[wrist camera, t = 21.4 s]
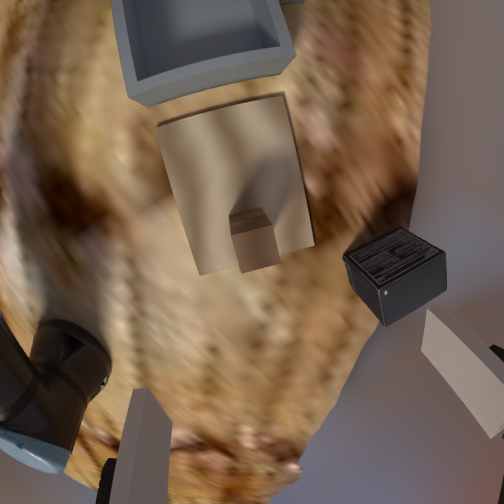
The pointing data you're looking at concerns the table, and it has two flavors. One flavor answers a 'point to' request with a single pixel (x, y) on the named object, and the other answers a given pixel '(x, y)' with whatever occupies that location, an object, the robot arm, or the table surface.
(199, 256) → the board with wooden block
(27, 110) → the table surface
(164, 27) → the toolbox
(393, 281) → the small box
